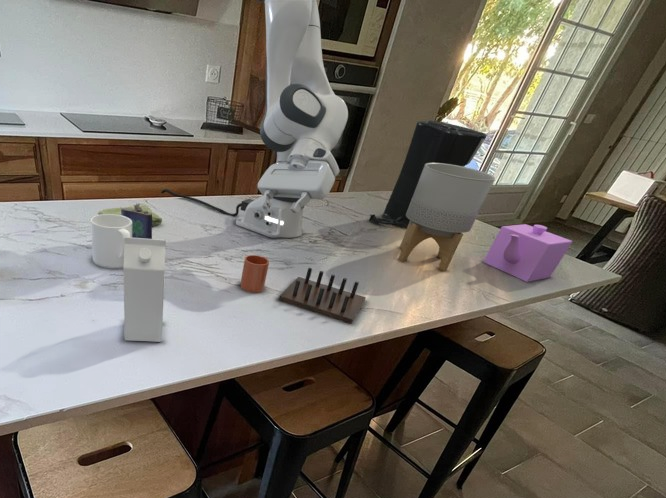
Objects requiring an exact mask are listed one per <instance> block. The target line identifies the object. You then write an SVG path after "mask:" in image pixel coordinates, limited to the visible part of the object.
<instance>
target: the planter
mask: <svg viewBox="0 0 666 498" xmlns="http://www.w3.org/2000/svg"><path fill="white" fill-rule="evenodd" d="M495 180H496V177H495V176H494V175H492V174H490V173H488V172H485V171H483V170H478V169H475V168H471V167H467V166H464V167H462V166H457V165H451V164H444V163H426V164H425V166H424V168H423V171H422V173H421V176H420V179H419V181H418V184H417V187H416V189H415V192H414V194H413V197H412V200H411V202H410V205H409V208H408V210H407V213H406V217H407V218H408V219H409V220H410V222H409V224H408V227H407V228H405V229H406V230H405V232H404V234H403V238H402V239H401V242H400V245H399V248H400V249H401V251H400V253H399V255H398V258H397V259H398V261H400V262H407V260H408V258H409V256H410V254H411V253H412V252H413V251H414V249H415V248H416V247H417V246H418V245H419V244H420V243H422V242H423V241H425V240H427V239H432V240H434V241H435V242H436V244H437V247H438V252H437V254H436V257H438V258H439V259H440V262H439V265H438V268H437V269H438V270H439V271H441V272H446V271H447V270H448V268H449V266H450V264H451V262H452V259H453V257H454V255H455V253H456V251H457V249H458V247H459V245H460V243H461V240H462V239H463V236H464V233H468V232H470V231H471V230H472V229H473V226H474V224H475V221H476V220H477V218H478V215H479V213H480V211H481V209H482V206H483V205H484V203H485V201H486V199H487V197H488V194H489V193H490V190H491V188H492V186H493V184H494V182H495Z"/></svg>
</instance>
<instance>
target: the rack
mask: <svg viewBox="0 0 666 498" xmlns="http://www.w3.org/2000/svg"><path fill="white" fill-rule="evenodd" d="M312 271H313V268H312V267H308V268H307V271H306V275H305V277H301V276H297V277H296V278H295V279H294V281H292V282H291V283H290V284H289V285H288V286H287V288H285V289H284V291H282V293H280V294H279V297H278V301H281V302H284V303H287V304H289V305H293V306H295V307H299V308H301V309H305V310H307V311H310V312H314V313H317V314H320V315H323V316H326V317H329V318H332V319H334V320H339V321H341V322H344V323H348V324H350V325H352V324H353V322H354V321H355V319H356V318H357V315H358V314H359V312H360V310H361V308H362V306H363V305H364V303H365V301H366V296H362V295H360V294H356V293H357V291H358V287H359V284H360V282H359V281H354V284H353V286H352V289H351V292H350V291H347V290H345V287H346V284H347V281H348V278H346V277H343V278H342V280H341V283H340V286H339V288H336V287H334V286H333V284H334V281H335V277H336V274H334V273H332V274H330V277H329V281H328V284H324V283H321V282H322V279H323V276H324V271H323V270H319V272H318V276H317V279H316V281H314V280H311V276H312V275H311V274H312Z"/></svg>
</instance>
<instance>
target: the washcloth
mask: <svg viewBox="0 0 666 498" xmlns="http://www.w3.org/2000/svg"><path fill="white" fill-rule="evenodd" d="M139 207H140V208H141V209H142V210H144V211H145V210H146V211H148V212H149V213H151V214H152V227H154V226H159V225H160V224H162V223H163V218H162V217H160V216H159V215H158V214H157V213H156V212H153V211H152V209H151V208H150V207H149V206H148V205H146V204H142V205H141V204H140V205H139ZM122 208H131V209H135V207H134V206H130V205H129V206H124V207H121V206H120V207H112V208H103V209H101V210H100V211H98V212H97V215H101V214H116V215H121V209H122Z"/></svg>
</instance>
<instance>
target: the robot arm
mask: <svg viewBox="0 0 666 498" xmlns="http://www.w3.org/2000/svg"><path fill="white" fill-rule="evenodd" d="M256 1H257V2H259V3H264V14H265V35H266V36H265V39H266V41H265V43H266V48H265V49H266V50H265V51H266V62H265V63H266V64H265V111H264V115H263V118H262V121H261V124H260V126H259V135H260V138H261V140H262V143H263V144H264V145H265V146H266V148H268V149H269V150H271V151H273V152H276V160H275V161H276V162H275V163H273V164H271V165H270V166H269V167H268V168H267V169H266V170H265V171H264V173H263V174H262V175H261V178H260V179H259V181H258V182H257V189H258V191H259V192H260V193H261V196H259V197H257V198H256V199H251V198H248V199H244V200H242V201H241V202H240V203H238V204H237V205H236V207H235V212H234V213H230V212H227V211H225V210H224V209H222V208H219V207H217V206H215V205H212V204H210V203H209V202H205V201H203V200H201V199H198V198H195V197H192V196H188V195H185V194H180V193H176V192H173V191H172V190H170V189H168V188H164V189H162V190H160V194H164V193H168V194H170V195H172V196H173V197H177V198H181V199H185V200H189V201H193V202H196V203H199V204H201V205H204V206H206V207H207V208H210V209H212V210H214V211H217V212H219V213H221V214H223V215H227V216H231V217H237V216H238V215H239V211H243V212H244V213H243V214H242V215H240V216H238V217H237V218H236V221H235V225H236V226H238V227H241V228H244V229H247V230H249V231H252V232H255V233H258V234H261V235H263V236H265V237H268V238H272V239H277V238H285V239H286V238H287V239H288V238H291V239H292V238H297V237H300V236H302V235H303V214H304V208H305V206H306V205H307V204H308V203H309V202H310V201H311V200H317V201H318V200H319V201H321V200H324V199H325V198H326V197H327V196H328V195H329V193H330V192H331V190H332V188H333V186H334V184H335V182H336V177H338V175H339V173H340V168H339V165H338V163H337V160H336V159H335V157H334V155H333V153H332V152H331V151H332V150H333V149H334V148H335V147H336V145H337V144H338V142H339V140H340V139H341V136H342V135H343V133H344V131H345V128H346V125H347V122H348V119H349V110H348V106H347V104H346V102H345V100H343V98H342V97H340V96H338V95H336V94H335V92H334V90H333V88H332V87H331V84H330V82H329V79H328V75H327V73H326V68H325V66H324V65H325V64H324V60H323V51H322V50H323V49H322V34H321V33H322V32H321V19H320V13H319V7H318V2H317V1H318V0H256Z"/></svg>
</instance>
